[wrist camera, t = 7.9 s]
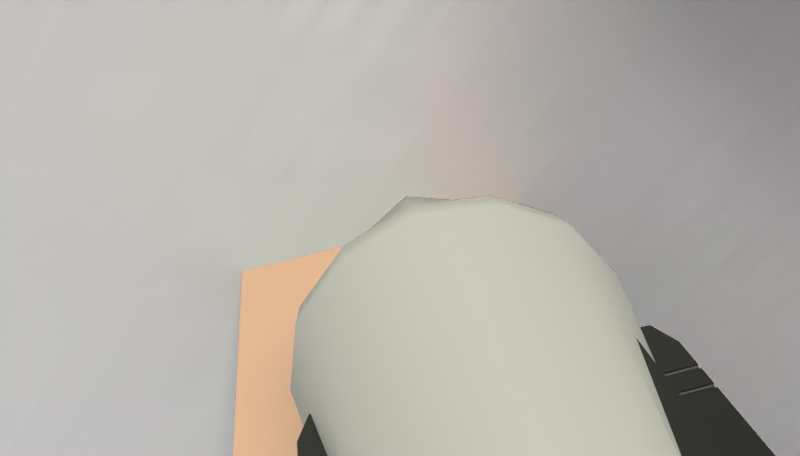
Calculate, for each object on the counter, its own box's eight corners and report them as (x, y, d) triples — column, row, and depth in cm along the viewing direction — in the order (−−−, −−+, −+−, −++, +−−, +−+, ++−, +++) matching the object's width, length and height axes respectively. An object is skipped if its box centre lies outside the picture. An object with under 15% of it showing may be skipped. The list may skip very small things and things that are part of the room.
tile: (242, 271, 30) (231, 495, 20) (520, 203, 31) (652, 384, 20) (257, 315, 31) (254, 550, 21) (525, 248, 32) (653, 443, 22)
